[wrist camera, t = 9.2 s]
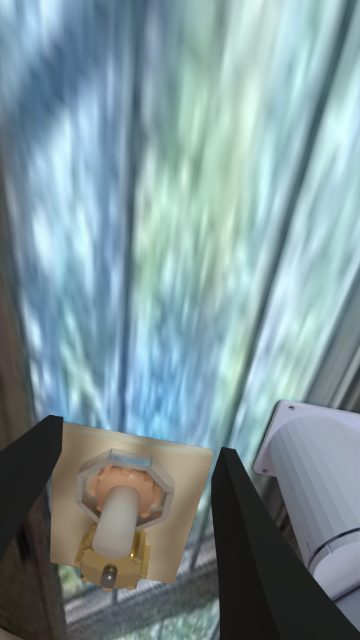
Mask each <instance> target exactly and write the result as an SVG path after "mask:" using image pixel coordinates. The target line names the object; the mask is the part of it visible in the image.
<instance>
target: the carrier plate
mask: <svg viewBox="0 0 360 640" xmlns="http://www.w3.org/2000/svg"><path fill="white" fill-rule="evenodd" d="M110 448H112V449H113V448H118V449H124V450H129V451H135V452H140V453H145V454H151V456H154V457H155V458H156V459H157V460H158V462H159V463H160V464H161V465H162V466H163V467H164V468H165V469H166V470H167V471H168V473H169V474H170V475H171V476H172V477H173V478H174V479H175V492H174V497H173V501H172V505H171V508H170V512H169V516H168V519H167V520H165V521H163V522H161V523H158V524H156V525H153V526H151V527H148V528H146V529H143V530H144V531H145V532H146V533H147V534H146V540H145V542H146V545H151V551H150V559H149V566H148V574H147V578H146V579H149V580H154V581H160V582H166V583H171V584H173V583H174V580H175V577H176V574H177V571H178V568H179V564H180V561H181V558H182V555H183V552H184V549H185V545H186V542H187V539H188V536H189V533H190V530H191V527H192V523H193V520H194V517H195V514H196V511H197V508H198V504H199V501H200V498H201V495H202V492H203V489H204V485H205V482H206V479H207V476H208V473H209V470H210V466H211V463H212V460H213V455H212V450H211V449H206V448H200V447H195V446H190V445H184V444H179V443H174V442H168V441H163V440H158V439H152V438H147V437H142V436H136V435H131V434H125V433H120V432H115V431H109V430H104V429H99V428H93V427H88V426H83V425H77V424H72V423H67V422H63V439H62V453H61V455H60V457H59V459H58V461H57V464H56V466H55V468H54V470H53V472H52V506H51V547H50V562H52V563H57V564H63V565H69V566H74V560H75V557H76V555H77V552H78V549H79V546H80V543H81V540H82V538H83V535H84V534H89V532H90V529H91V526H92V523H95V521H94V520H93V519H92V518H91V517H90V516H89V515H88V514H87V513H85V512H84V511H83V510H82V509H81V508H80V507H79V506H78V505H77V504H75V503H76V502H75V492H76V478H77V474H78V472H79V470H80V467H81V465H82V464H83V462H85V461H87V460H89V459H91V458H93V457H95V456H97V455H99V454H101V453H103V452H105V451H106V450H108V449H110ZM111 466H112V465H111ZM99 471H100V470H99ZM99 471H97V472H95V473H93V474H91V475H89V476H88V478H87V489H86V490H87V491H88V492H89V490H90V487H91V484H92V482H93V479H94V477H96V478H97V477H98V474H99ZM154 483H155V486H160V485H159V484H158V483H157V482H156V481H155V480H154ZM165 493H166V492H165V491H164V490H163V489H162V487H160V495H159V503H158V504H152V506H151V508H154V507H156V506H158V505H161V504H163V501H164V497H165ZM94 497H95V496H94ZM95 498H96V497H95ZM151 508H150V509H151Z"/></svg>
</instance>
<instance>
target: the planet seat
mask: <svg viewBox="0 0 360 640" xmlns="http://www.w3.org/2000/svg"><path fill="white" fill-rule="evenodd" d="M109 465H115V466H120V467H125V468H131V469H136V470H142V471H147V473H148V474H149V475H150V476H151V477H152V478H153V479H154V480H155V481H156V482H157V483H158V484H159V485H160V486H161V487H162V489H163V490H164V491H165V492H166V493H165V497H164V501H163V504H161V505H158V506H156V507H154V508H151V509H150V515H149V516H147V517H145V518H143V517H142V516H140V515H138V516H137V522H136V527H135V532H136V531H137V532H139V531H141V530H143V529H146V528H148V527H151V526H153V525H156V524H158V523H161V522H163V521H165V520H167V519H168V516H169V512H170V508H171V505H172V501H173V497H174V492H175V479H174V478H173V477H172V476H171V475H170V474H169V473H168V471H167V470H166V469H165V468H164V467H163V466H162V465H161V464H160V463H159V462H158V460H157V459H156V458H155V457H154V456H151V454H145V453H140V452H135V451H129V450H124V449H118V448H113V449H112V448H110V449H108V450H106V451H105V452H103V453H101V454H99V455H97V456H95V457H93V458H91V459H89V460H87V461H85V462H83V464H82V465H81V467H80V470H79V472H78V474H77V478H76V492H75V502H76V503H75V504H77V505H78V506H79V507H80V508H81V509H82V510H83V511H84V512H85V513H87V514H88V515H89V516H90V517H91V518H92V519H93V520H94V521H95V522H96V523H98V522H99V518H100V515H101V512H100V511H99V510H98V509H97V505H98V502H97V500H96V498H95V497H94V496H92V495H89V492H88V491H87V490H86V489H87V478H88V476H89V475H91V474H93V473H95V472H97V471H99V470H101V469H103V468H105V467H107V466H109Z"/></svg>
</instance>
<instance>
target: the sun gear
mask: <svg viewBox="0 0 360 640" xmlns="http://www.w3.org/2000/svg"><path fill="white" fill-rule="evenodd" d="M97 525H98V523H96V522H95V523H92V526H91V529H90V532H89V534H84V535H83V538H82V540H81V543H80V546H79V549H78V552H77V555H76V557H75V560H74V567H79V568H80V571H81V573H82V575H81V578H80V579H81V580H83V581H84V582H85V583H87V582H92V583H94V584H96V585H98V586H101V587H104V588H103V590H104V591H110V592H111V590H112V589H121V588H127V589H128V590H133V589H136V586H137V582H138V581H139V580H140V578H142V579H146V578H147V574H148V566H149V559H150V551H151V545H146V542H145V540H146V534H147V533H146V532H145V531H144V530H141V531H139V532H137V531H136V532H134V537H133V543H132V548H131V552H130V553H129V555H127V556H126V557H124V558H120V559H110V558H106V557H103V556H101V555H99V554H98V553H96V552H95V551H94V549H93V547H92V540H93V537H94V534H95V531H96V528H97Z"/></svg>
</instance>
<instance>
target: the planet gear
mask: <svg viewBox="0 0 360 640" xmlns="http://www.w3.org/2000/svg"><path fill="white" fill-rule="evenodd" d="M160 487H161V486H155V483H154V479H153V478H152V477H151V476H150V475H149V474H148V473H147V471H142V470H136V469H131V468H125V467H120V466H115V465H112V466H111V465H109V466H107V467H105V468H103V469H101V470H100V471H99V474H98V477H97V478H96V477H94V479H93V482H92V484H91V487H90V490H89V495H92V496H95V497H96V500H97V502H98V505H97V509H98V510H99V511H100V512H101V515H100V518H99V522H98V525H97V528H96V531H95V534H94V537H93V540H92V547H93V549H94V551H95V552H96V553H98V554H99V555H101V556H103V557H106V558H110V559H120V558H124V557H126V556H127V555H129V553H130V552H131V548H132V543H133V537H134V532H135V527H136V522H137V516H138V515H140V516H142V517H143V518H145V517H147V516H149V515H150V508H151V506H152V504H158V503H159V495H160Z"/></svg>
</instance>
